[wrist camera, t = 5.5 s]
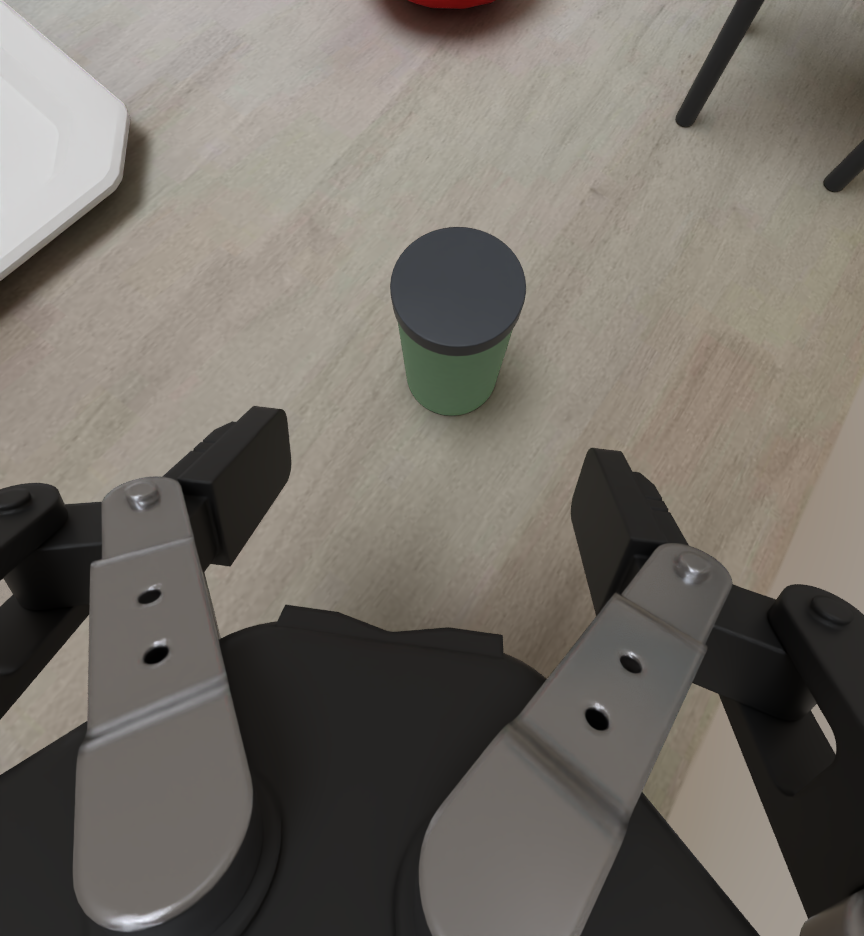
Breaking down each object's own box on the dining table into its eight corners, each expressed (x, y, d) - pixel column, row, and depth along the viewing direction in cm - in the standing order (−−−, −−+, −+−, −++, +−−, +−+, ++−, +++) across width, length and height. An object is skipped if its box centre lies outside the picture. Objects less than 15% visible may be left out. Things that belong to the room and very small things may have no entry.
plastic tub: (514, 358, 25) (550, 263, 17) (468, 434, 24) (484, 371, 16) (434, 315, 26) (434, 205, 18) (387, 389, 25) (364, 306, 17)
